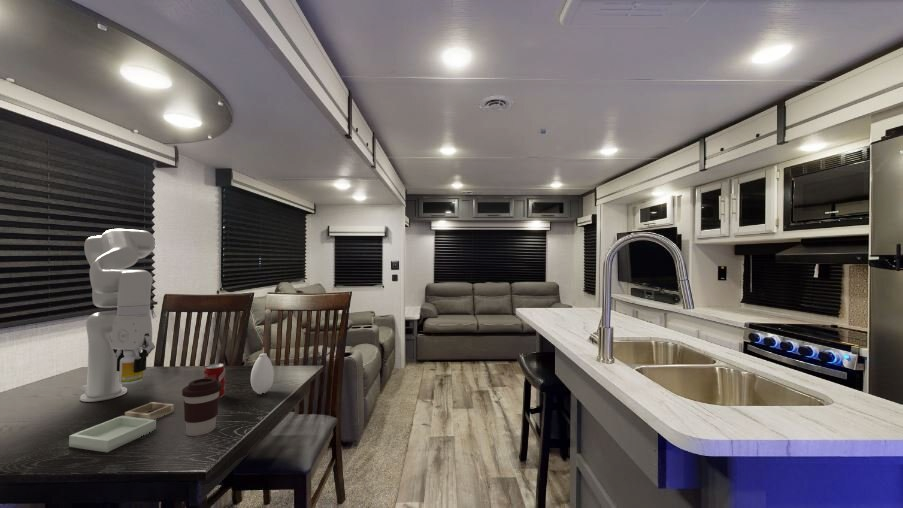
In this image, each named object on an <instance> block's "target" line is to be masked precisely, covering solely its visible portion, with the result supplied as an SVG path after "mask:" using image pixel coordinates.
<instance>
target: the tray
mask: <svg viewBox="0 0 903 508" xmlns="http://www.w3.org/2000/svg"><path fill="white" fill-rule="evenodd" d="M154 430H155V431H156V430H157V419H155V420H152V419H144V418H136V417H128V416H125V415H120V416H117V417H114V418H113V419H109V420H107V421H104V422H102V423H99V424H96V425H94V426H91V427H89V428H86V429H83V430H81V431H77V432H75V433H73V434H71V435H69V436H68V438H69V439H68V447H69V448H75V449H80V450H81V449H83V450H89V451H95V452H103V453H109V452H112V451H114V450H115V449H118V448H119V447H121V446H124V445H126V444H128V443H131V442H133V441H135V440H136V439H139V438H141V436H142V437H143V435H144V436H146V435H148V434H150V433H153V432H155V431H154ZM152 431H153V432H152ZM149 432H150V433H149Z"/></svg>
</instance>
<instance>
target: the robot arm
mask: <svg viewBox="0 0 903 508" xmlns="http://www.w3.org/2000/svg"><path fill="white" fill-rule="evenodd" d="M155 241H156V240H155V237H154V235H153V234H152V233H151V232H150V231H148V230H139V229H125V228H114V229H113V228H112V229H108V230H105V232H103V233H102V235H96V236H95V235H94V236H93V235H92V236H90V237H88V238H86V239H85V241H84V255H85V257H86V260H87V262H88V264H89V266H90V268H89V280H90V285H91V288H92V290H91V291H92V292H91V294H92V304H93V305H94V306H96V307H97V308H117V309H115V310H105V311H99V312H98V311H97V312H94V313H92V314H91V315H89V316H88V317H87V318H86V321H85V322H86V323H85V327H86V332H87V334H86V335H87V340H88V342H87V344H88V345H87V346H88V351H87V352H88V354H87V374H86V375H87V376H86V384H85V385H82V386H81V390H84V391H85V392H84V393H83V394H81V395H80V397H79V400H80V401H81V402H84V403H86V402H88V403H91V402H92V403H93V402H102V401H107V400H112V399H116V398H118V397H121V396H124V395H125V394H126V393H127V392H128V388H127V387H125V386H123V384H120V383H119V372H120V360H121V358H123V357H124V355H123V351H124V350H134V351H135V355H136V359H134V373H137V372H141V371H143V372H144V371H146V370H147V358H148V357H149V355H150V354H151V353H152V351H153V350H154V349H155V348H156V345H155V344H154V342H153V323H152V318H151V317H152V316H151V296H152V295H151V294H152V292H151V291H152V286H153V282H154V281H153V275H152V273H150V272H149V271H148V270H145V269H127V268H130V267H132V266H134V265H135V264H136V263H137V262H138V261H139V260H140V259H145V258H146V257H147V256H149V255H150V254H151V253H153V251H154V249H155V245H156V242H155ZM140 350H141V353H140Z"/></svg>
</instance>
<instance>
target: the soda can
mask: <svg viewBox="0 0 903 508" xmlns="http://www.w3.org/2000/svg"><path fill="white" fill-rule="evenodd" d="M203 378H214V379H216V380H217V382H220V383H222V389H221V390H220V391H219V395H220V397H219V399H221V398H223V396H225V394H226V393H225V392H226V390H225V388H226V367H224V363H213V364H209V365H208V364H207V365H206V366H205V370H204V371H203Z"/></svg>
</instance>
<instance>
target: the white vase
mask: <svg viewBox="0 0 903 508" xmlns="http://www.w3.org/2000/svg"><path fill="white" fill-rule="evenodd" d="M267 354H268V353H265V348H264V347H262V353H260V354H259V356H258V357H257V359H256V360H255V362H254V364H253V367H252V369H251V372H250V385H251V388H252V390H253V391H254V392H255V393H256V394H258V395H263V394H262V393H264V394H265V393H267V392H268V391H270V389H271V387H272V385H273V383H274V377H275V372H274V367H273V363H272V361H271V358H270V357H268V355H267Z"/></svg>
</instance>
